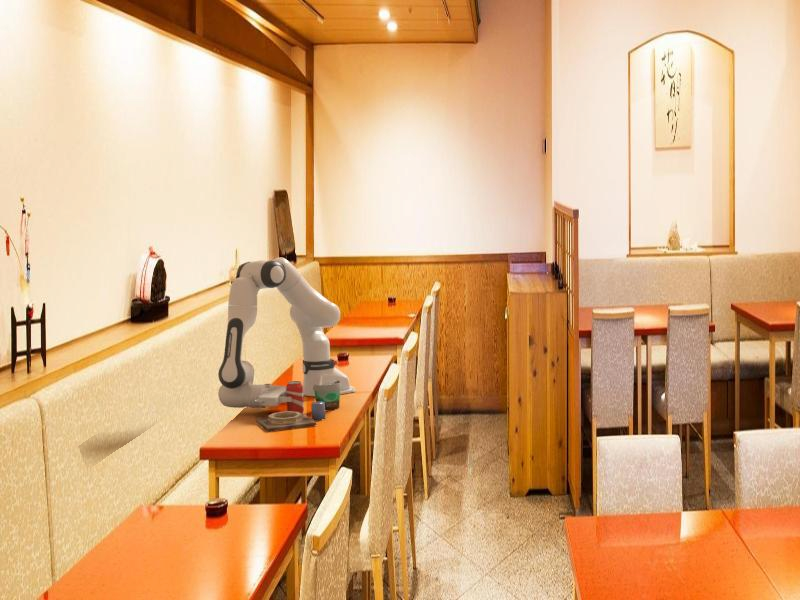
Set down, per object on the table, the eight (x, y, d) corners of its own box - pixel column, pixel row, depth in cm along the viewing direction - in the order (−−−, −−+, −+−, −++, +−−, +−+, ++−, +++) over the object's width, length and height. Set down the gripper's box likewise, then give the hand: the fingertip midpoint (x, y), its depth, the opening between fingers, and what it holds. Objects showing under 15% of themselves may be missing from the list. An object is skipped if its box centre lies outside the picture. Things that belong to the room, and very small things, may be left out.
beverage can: (307, 412, 382) (305, 381, 381) (294, 416, 378) (293, 384, 376) (296, 410, 386) (295, 380, 385) (284, 413, 382) (282, 382, 380)
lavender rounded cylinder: (322, 416, 375) (322, 400, 374) (327, 419, 371) (326, 403, 370) (310, 418, 373) (309, 402, 373) (314, 421, 369) (313, 405, 368)
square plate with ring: (302, 415, 378) (301, 407, 377) (316, 425, 361) (316, 417, 361) (255, 421, 371) (254, 412, 371) (267, 431, 354) (267, 423, 354)
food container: (323, 413, 381) (321, 387, 380) (313, 410, 386) (312, 384, 385) (349, 407, 389) (348, 382, 388) (339, 405, 394) (338, 380, 392)
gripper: (251, 394, 373) (287, 394, 371) (267, 382, 393) (302, 382, 391) (252, 410, 374) (288, 410, 371) (268, 398, 394) (302, 398, 391)
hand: (295, 396), depth 381 cm, fingers open, 8 cm apart
